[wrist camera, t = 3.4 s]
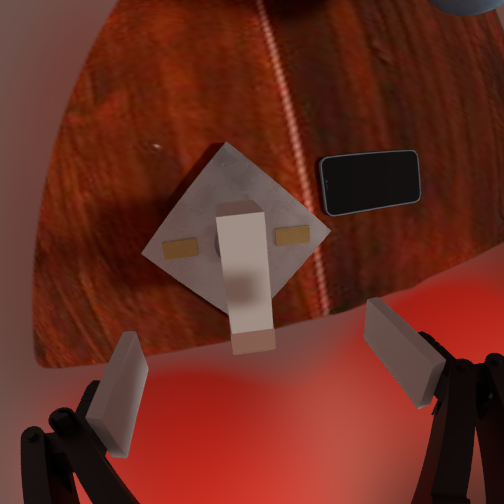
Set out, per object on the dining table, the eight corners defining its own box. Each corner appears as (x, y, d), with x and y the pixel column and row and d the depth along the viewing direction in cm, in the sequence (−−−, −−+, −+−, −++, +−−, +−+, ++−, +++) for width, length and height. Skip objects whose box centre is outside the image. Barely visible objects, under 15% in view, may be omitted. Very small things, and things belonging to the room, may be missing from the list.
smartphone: (421, 201, 36) (327, 218, 35) (417, 200, 37) (324, 216, 36) (417, 149, 34) (319, 157, 33) (413, 149, 34) (316, 157, 33)
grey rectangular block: (215, 201, 27) (214, 217, 19) (252, 197, 27) (265, 211, 19) (229, 308, 30) (233, 354, 22) (261, 304, 30) (275, 348, 23)
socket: (144, 249, 34) (129, 268, 28) (225, 142, 32) (227, 137, 25) (245, 320, 38) (250, 349, 32) (326, 228, 36) (347, 241, 30)
